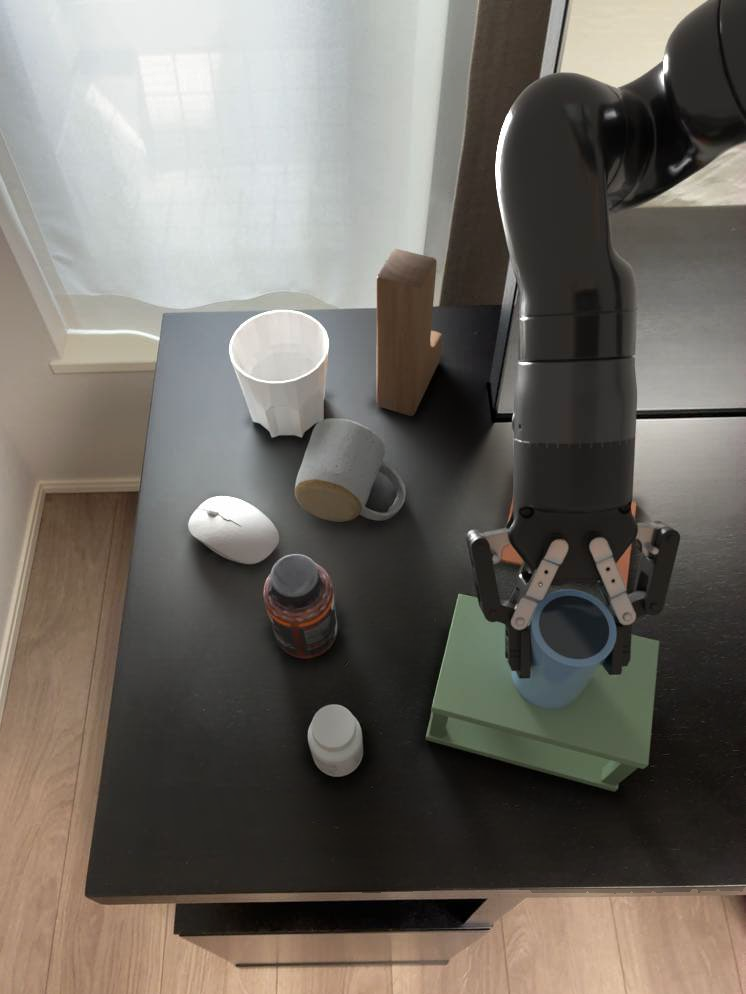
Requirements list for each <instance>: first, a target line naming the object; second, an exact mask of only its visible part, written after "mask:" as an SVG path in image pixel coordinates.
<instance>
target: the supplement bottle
mask: <svg viewBox="0 0 746 994" xmlns="http://www.w3.org/2000/svg"><path fill="white" fill-rule="evenodd" d="M330 577H331V576H329V574H328V571H326V570H325V569H324V568H323V567H322V566H321V565H319V564H318V563H316V562H315V561H314V560H313V559H312V558H310V557H308V556H306V555H305V554H299V553H293V554H287V555H285V556H282V557H281V558H279V559H278V560H277V561H276V562H275V563H274V564H273V566H272V568H271V571H270V574H268V577H267V578H266V580H265V582H264V587H263V601H264V605H265V609H266V612H267V615H268V619H269V622H270V625H271V628H272V631H273V635H274V638H275V639H276V642H277V644H278V646H279V647H280V648H281V649H282V650H283V651H284V652H285V653H286V654H287V655H289V656H291V657H293V658H296V659H297V658H298V659H313V658H316V657H319V656H321V655H322V654H324V653H326V652H327V651H328V650H329V649H330V648H331V647H332V646H333V644H334V642H335V640H336V638H337V634H338V618H337V609H336V601H335V595H334V587H333V582H332V580H331V578H330Z"/></svg>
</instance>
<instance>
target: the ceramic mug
mask: <svg viewBox="0 0 746 994" xmlns="http://www.w3.org/2000/svg"><path fill="white" fill-rule="evenodd" d="M385 455H386V448H385V443H384V442H383V441H382V439H381V437H380V436H378V435H377V434H376V433H375V432H374V431H373V430H371V429H370V428H369V427H367V426H365V425H363V424H361V423H359V422H356V421H354V420H350V419H346V418H341V417H340V418H339V417H334V418H333V417H332V418H331V417H330V418H324V420H323V421H321V422H319V423H316V424H315V426H314V427H313V429H312V431H311V435H310V438H309V441H308V444H307V447H306V449H305V452H304V455H303V459H302V461H301V465H300V468H299V470H298V473H297V476H296V480H295V485H294V496H295V498H296V501H297V502H298V504H299V505H300V506H301V507H302V508H303V510H305V511H307V513H309V514H311V515H313V516H315V517H317V518H319V519H323V520H325V521H330V522H339V523H340V522H348V521H352V520H354V519H356V518H357V517H358V516H359V515H360V516H362V517H364V518H365V519H368V520H373V521H387V520H389V519H391V518H392V517H394V516H395V515H396V514H397V513H398V512H399V511H400V510H401V509H402V507H403V506H404V503H405V501H406V495H407V490H406V485H405V483H404V481H403V479H402V477H401V476H400V474H398V472H397V471H396V470H395V469H393V467H391V466H390V465H389V464H387V463H386V462H385V461H384V457H385ZM379 472H380V473H381V474H382V475H383V476H385V477H386V478H387V479H388V480H390V482H391V483H392V485H393V486H394V488H395V490H396V497H395V499H394V502H393V504H392V505H391V506H389V508H388V511H386V512H379V511H375V510H372V509H371V508H368V507H366V505H367V502H368V500H369V498H370V494H371V491H372V488H373V485H374V483H375V481H376V479H377V477H378V474H379Z"/></svg>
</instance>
